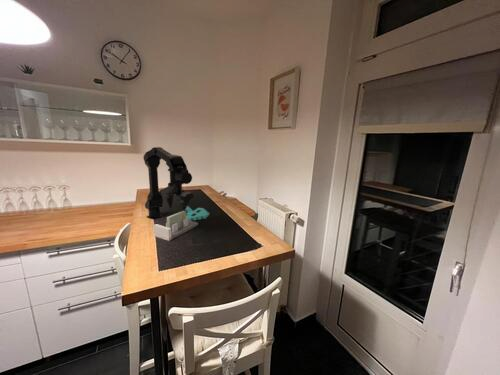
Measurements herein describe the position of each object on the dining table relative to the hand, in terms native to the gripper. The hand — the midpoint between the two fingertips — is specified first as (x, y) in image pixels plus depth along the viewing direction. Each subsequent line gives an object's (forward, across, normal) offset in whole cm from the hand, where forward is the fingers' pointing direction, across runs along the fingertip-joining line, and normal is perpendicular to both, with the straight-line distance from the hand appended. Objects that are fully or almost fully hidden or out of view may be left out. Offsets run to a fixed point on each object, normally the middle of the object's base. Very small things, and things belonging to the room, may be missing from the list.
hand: (177, 209), depth 111 cm
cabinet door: (+11, 0, 0) cm, 11 cm away
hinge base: (+12, 0, 0) cm, 12 cm away
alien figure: (+13, -8, +22) cm, 27 cm away
